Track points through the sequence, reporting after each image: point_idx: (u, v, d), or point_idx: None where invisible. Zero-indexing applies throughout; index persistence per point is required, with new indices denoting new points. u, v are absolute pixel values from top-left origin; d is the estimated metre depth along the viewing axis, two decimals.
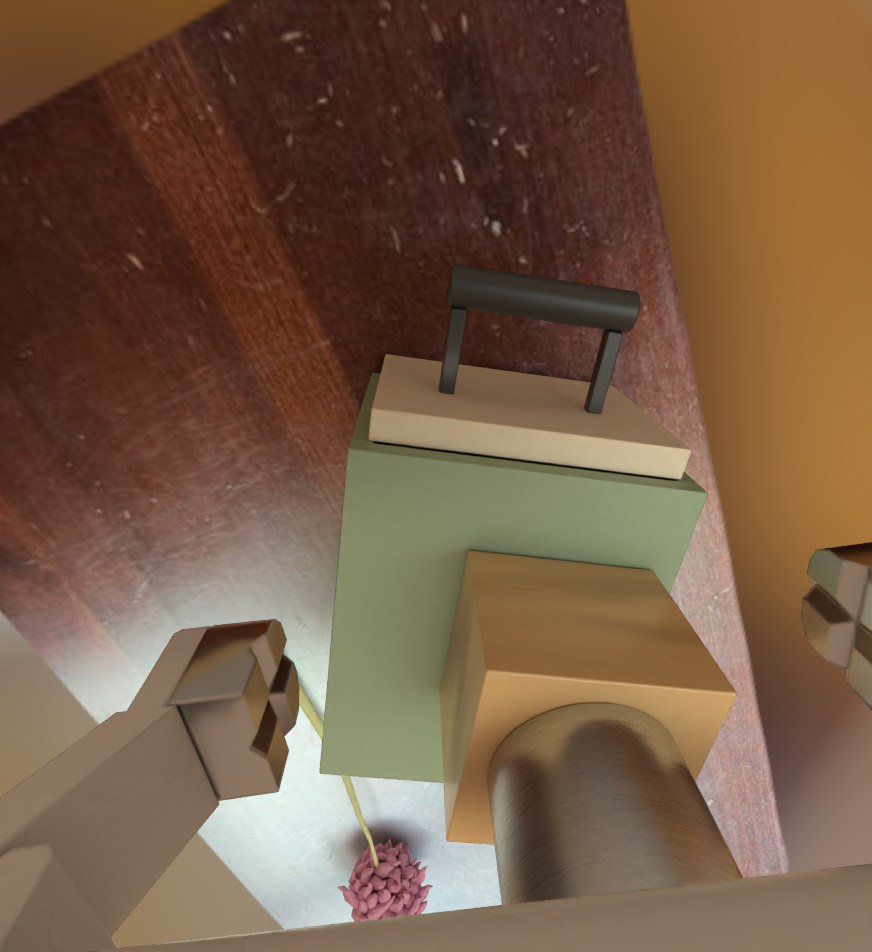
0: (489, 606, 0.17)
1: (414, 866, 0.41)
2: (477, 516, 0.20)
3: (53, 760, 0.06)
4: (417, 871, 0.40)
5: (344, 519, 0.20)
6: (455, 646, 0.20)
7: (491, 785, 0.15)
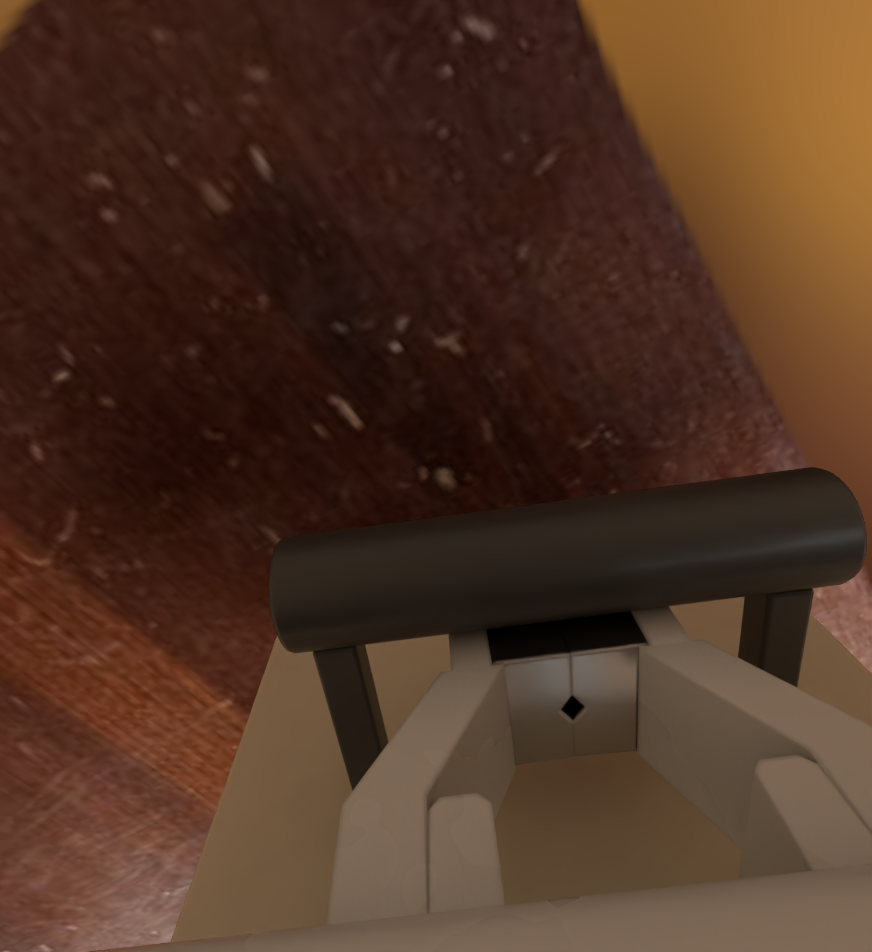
0: None
1: None
2: None
3: (410, 716, 0.06)
4: None
5: None
6: None
7: None
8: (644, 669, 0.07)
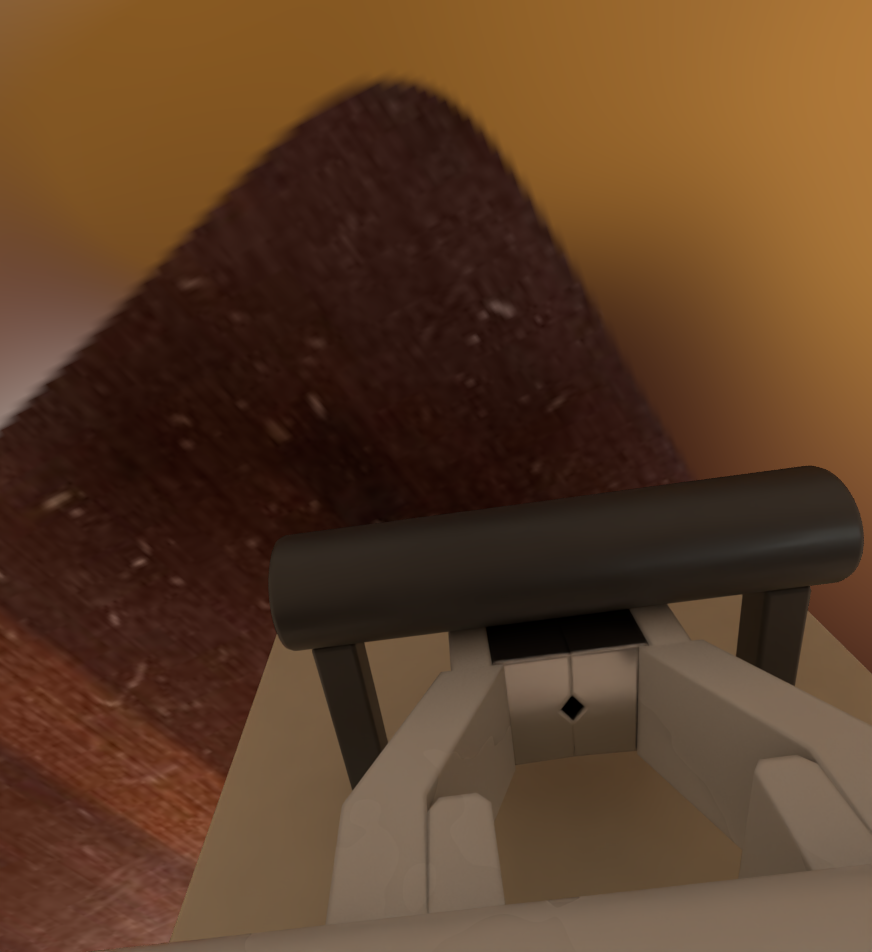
0: None
1: None
2: None
3: (410, 716, 0.06)
4: None
5: None
6: None
7: None
8: (644, 669, 0.07)
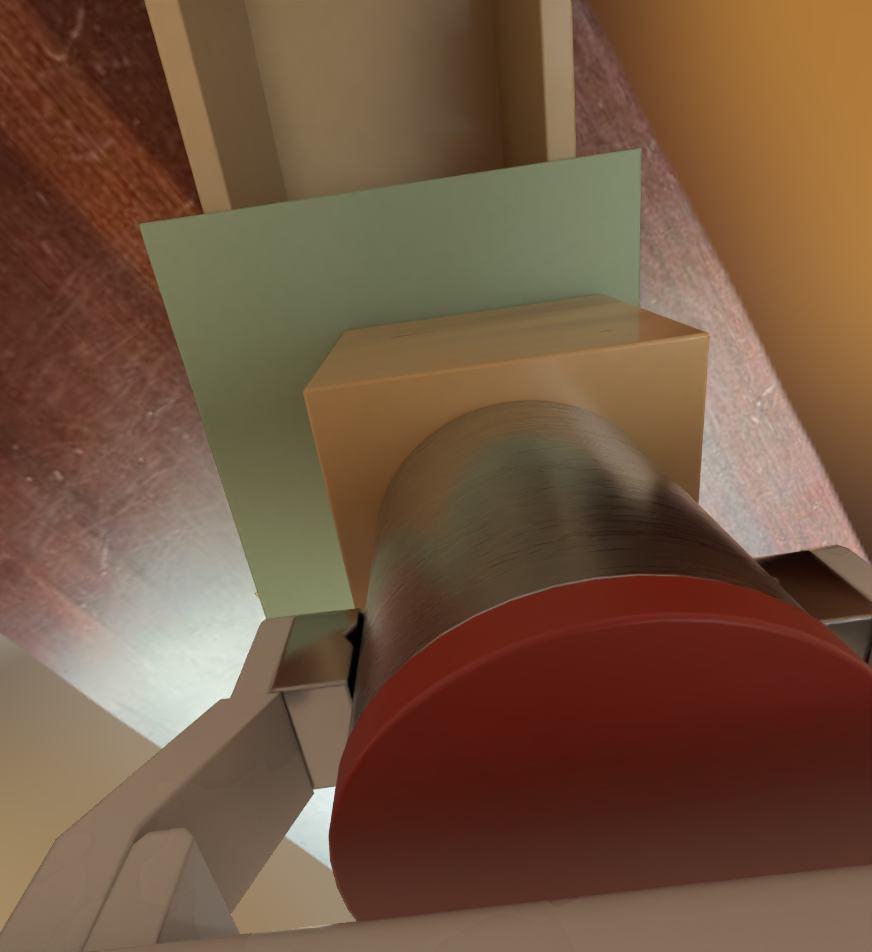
0: (344, 353, 0.12)
1: None
2: (339, 278, 0.15)
3: (167, 746, 0.06)
4: None
5: (175, 331, 0.15)
6: None
7: None
8: None
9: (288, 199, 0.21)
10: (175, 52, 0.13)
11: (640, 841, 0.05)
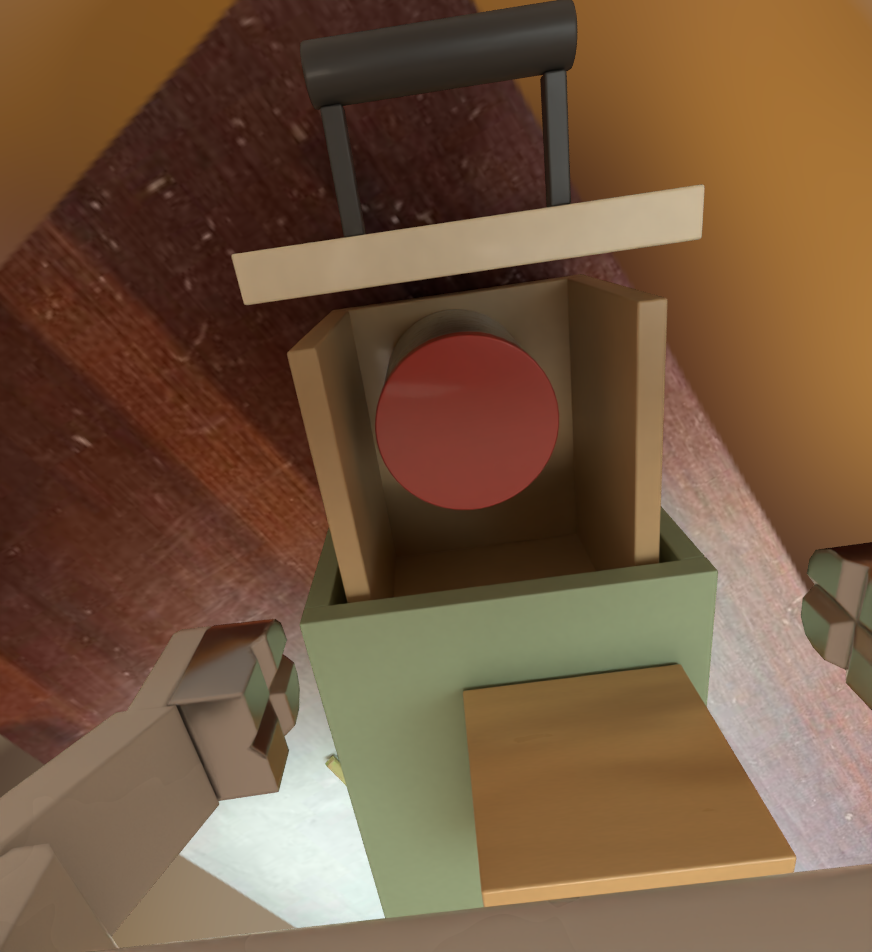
0: (485, 779, 0.15)
1: None
2: (461, 655, 0.17)
3: (53, 760, 0.06)
4: None
5: (321, 690, 0.18)
6: None
7: None
8: None
9: (382, 479, 0.24)
10: (335, 495, 0.16)
11: (471, 422, 0.17)
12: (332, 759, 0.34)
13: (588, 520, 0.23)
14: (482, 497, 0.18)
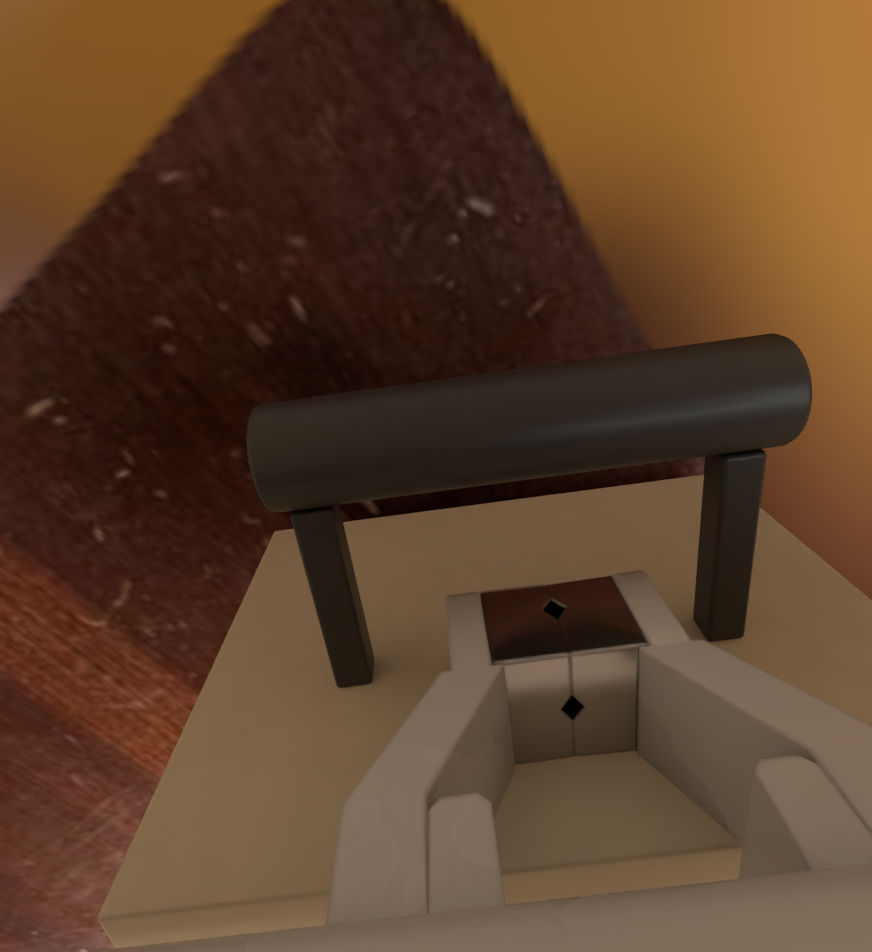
0: None
1: None
2: None
3: (409, 716, 0.06)
4: None
5: None
6: None
7: None
8: (644, 669, 0.07)
9: None
10: None
11: None
12: None
13: None
14: None
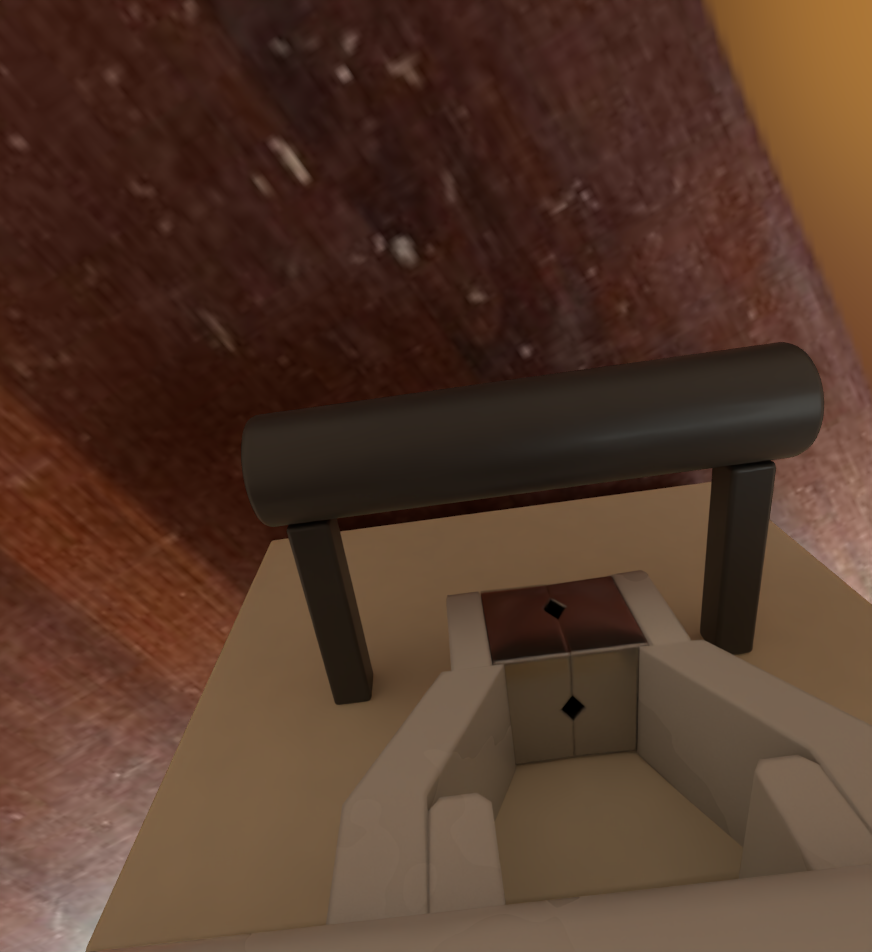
0: None
1: None
2: None
3: (410, 716, 0.06)
4: None
5: None
6: None
7: None
8: (644, 669, 0.07)
9: None
10: None
11: None
12: None
13: None
14: None
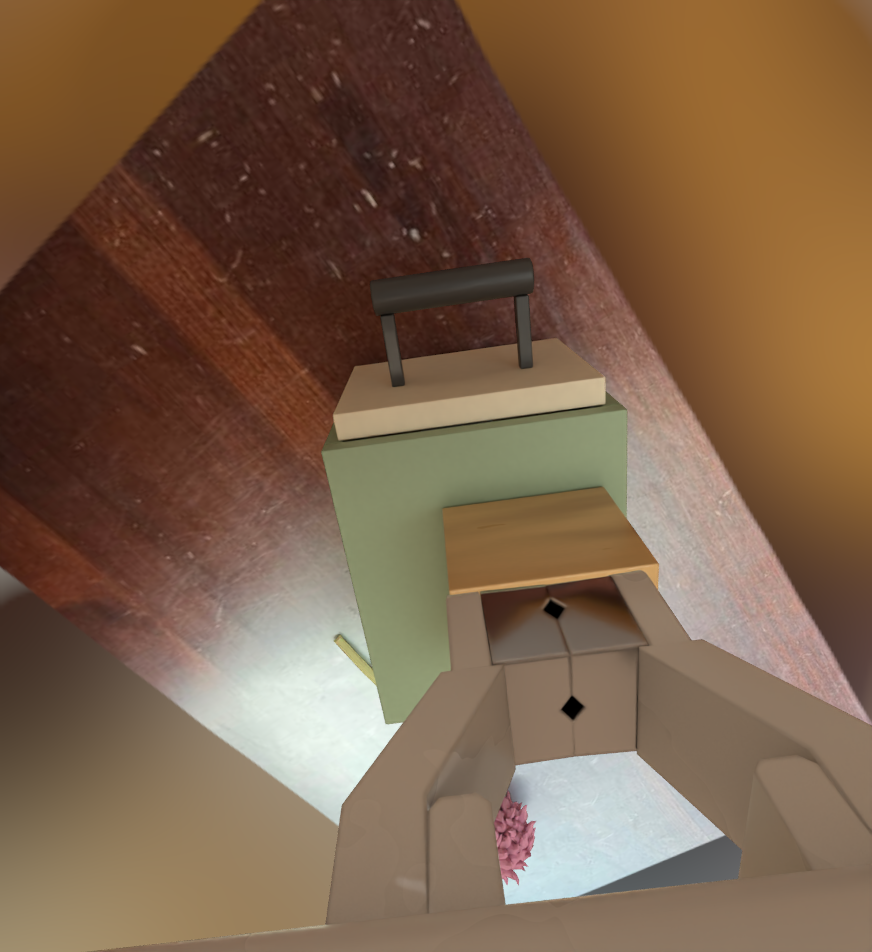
0: (455, 545, 0.21)
1: (516, 808, 0.45)
2: (440, 478, 0.24)
3: (410, 716, 0.06)
4: (519, 811, 0.44)
5: (336, 508, 0.24)
6: None
7: None
8: (644, 669, 0.07)
9: None
10: None
11: None
12: (339, 637, 0.40)
13: None
14: None
